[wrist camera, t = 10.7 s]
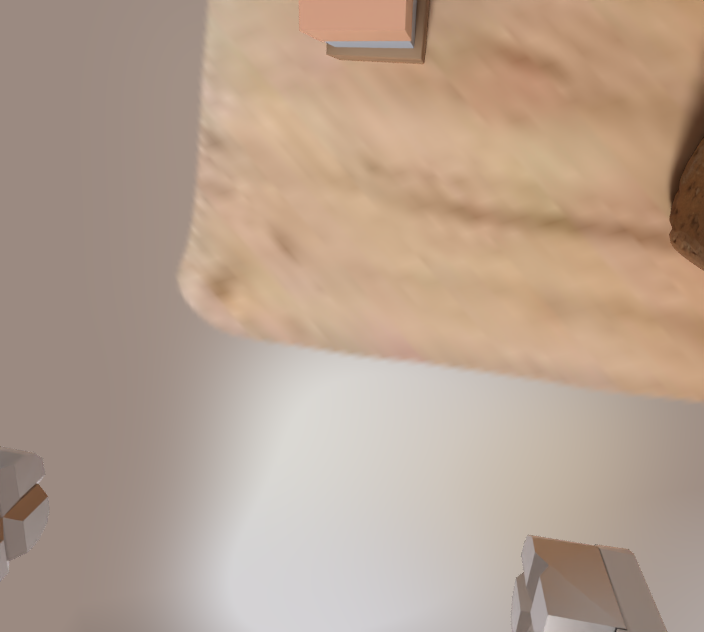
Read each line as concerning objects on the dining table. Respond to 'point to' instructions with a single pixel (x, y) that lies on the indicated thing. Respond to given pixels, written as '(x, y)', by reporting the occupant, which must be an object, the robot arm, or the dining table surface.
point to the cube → (356, 20)
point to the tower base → (391, 54)
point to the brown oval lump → (690, 211)
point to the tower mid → (381, 43)
